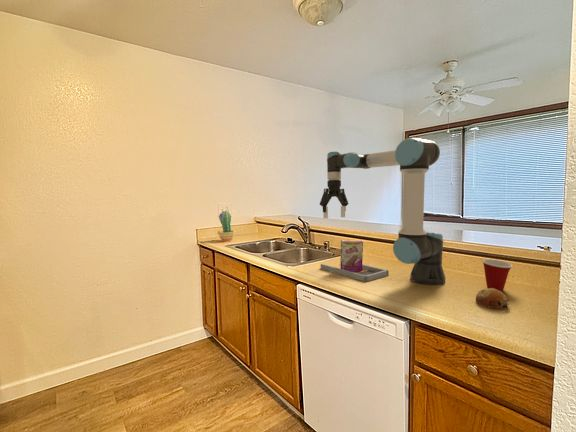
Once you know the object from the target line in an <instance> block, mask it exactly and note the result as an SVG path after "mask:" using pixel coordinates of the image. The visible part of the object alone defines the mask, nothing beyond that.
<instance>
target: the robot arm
mask: <svg viewBox="0 0 576 432" xmlns="http://www.w3.org/2000/svg"><path fill="white" fill-rule="evenodd" d="M440 155H441V150H440V146H439V145H438V144H437V143H436V142H435V141H433V140H429V139H422V138H419V137H407V138H405V139H403V140H402V141H401V142H399V144H398V145H397V146H396V148H395V150H389V151H381V152H374V153H373V152H372V153H366V154H359V153H356V152H347V153H343V154H342V153H341V151H330V152H328V153H327V155H326V157H327V158H326V162H327V164H326V166H327V167H326V168H327V171H326V172H327V179H326V180H327V187H325V188H324V189H323V193H322V196H321V199H320V202H319V206H321V207H322V213H323V219H329V208H328V206H327V205H328V204H329V202H330V201H331V199H332V198H334V197H335V198H337V200H338V201H339V203H340V218H346V211H347V209H346V207H347V206H348V205H349V200H348V199H347V196H346V193H345V189H344V188H341V187H342V181H341V180H342V169H348V168H350V169H364V170H365V169H366V170H368V169H371V168H383V167H394V166H399V171H400V172H401V173H402V175H403V177H402V179H403V181H402V221H401V225H402V227H401V229H400V230H399V231H398V237H397V239H396V240H395V241H394V242H393V246H392V251H393V254H394V257H395V258H397V260H398V261H399V262H401V263H403V264H406V265H407V264H408V265H411V264H413V266H412V269H411V272H410V280H411V281H413V282H415V283H419V284H423V285H432V286H438V285H443V284H445V283H446V278H447V277H446V274H445V272H444V269H443V248H444V247H443V246H444V237H443V234H442V233H439V232H432V231H431V232H430V231H425V230H424V216H425V215H424V213H425V212H424V211H425V209H424V208H425V180H426V179H425V177H426V176H425V175H426V173H427V172H429V170H430V167H431V166H432V165H433V164H435V163H437V161H438V160H439V158H440Z"/></svg>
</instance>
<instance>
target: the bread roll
mask: <svg viewBox="0 0 576 432" xmlns="http://www.w3.org/2000/svg"><path fill="white" fill-rule="evenodd" d="M475 302H476V303H477V305H479V306H481V307H484V308H486V309H491V310H498V311H499V310H502V311H503V310H506V309H507V308H508V307H509V306H508V305H509V299H508V297H507V296H506V295H505V294H504V293H503V291H498V290H497V289H493V288H489V289H488V288H483V289H481V290H479V291H478V293H477V294H476V295H475Z"/></svg>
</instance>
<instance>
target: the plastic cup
mask: <svg viewBox="0 0 576 432" xmlns="http://www.w3.org/2000/svg"><path fill="white" fill-rule="evenodd" d="M482 263H483V270H484V276H485V283H486V284H485V285H486V289H489V288H493V289H497V290H498V291H501V292H504V289H505V285H506V284H507V278H508V275H509V272H510V270H511V269H512V268H513V264H512V263H509V262H507V261H504V260H497V259H488V258H487V259H486V258H485V259H482Z"/></svg>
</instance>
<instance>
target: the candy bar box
mask: <svg viewBox="0 0 576 432" xmlns="http://www.w3.org/2000/svg"><path fill="white" fill-rule="evenodd" d="M363 250H364V241H363V240H362V239H361V240H359V239H358V240H357V239H341V240H340V261H339V262H340V265H339V268H340V269H343V270H347V271H351V272H354V273H357V272H361V271H363V269H362V264H363V254H364V253H363V252H364V251H363Z"/></svg>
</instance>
